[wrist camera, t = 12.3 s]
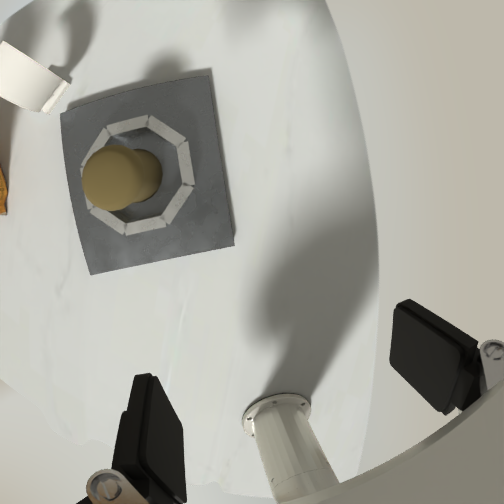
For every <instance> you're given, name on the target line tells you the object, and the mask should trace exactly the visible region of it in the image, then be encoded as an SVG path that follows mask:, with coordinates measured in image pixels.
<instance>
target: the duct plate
mask: <svg viewBox="0 0 504 504" xmlns="http://www.w3.org/2000/svg"><path fill="white" fill-rule="evenodd" d="M60 121H61V134H62V144H63V153H64V161H65V168H66V174H67V181H68V186H69V192H70V197H71V202H72V207H73V212H74V216H75V221H76V225H77V229H78V233H79V237H80V241H81V245H82V248H83V252H84V256H85V259H86V262H87V266H88V269H89V272H90V275H94V274H99V273H104V272H108V271H113V270H118V269H123V268H128V267H132V266H137V265H142V264H147V263H152V262H157V261H161V260H166V259H171V258H176V257H181V256H186V255H191V254H196V253H201V252H206V251H211V250H216V249H221V248H226V247H231V246H235V244H234V238H233V232H232V226H231V220H230V214H229V208H228V202H227V196H226V189H225V183H224V177H223V171H222V164H221V158H220V151H219V145H218V138H217V131H216V125H215V118H214V111H213V104H212V97H211V90H210V83H209V76H200V77H194V78H187V79H181V80H176V81H170V82H165V83H160V84H156V85H151V86H147V87H143V88H138V89H134V90H131V91H127V92H123V93H120V94H116V95H113V96H109V97H106V98H103V99H100V100H97V101H94V102H91V103H88V104H85V105H82V106H79V107H76V108H74V109H71V110H69V111H66V112H63V113H61V114H60ZM112 144H114V145H123V146H125V147H127V148H129V149H131V150H133V149H145V150H147V151H149V152H151V153H153V154H154V155H155V156H156V157H157V158H158V160H159V162H160V164H161V166H162V173H163V176H162V182H161V185H160V187H159V189H158V191H157V192H156V193H155V194H154V195H153V196H152V197H151V198H149V199H148V200H146V201H144V202H139V203H131V204H130V205H128V206H126V207H125V208H123V209H120V210H115V211H108V210H102V209H100V208H98V207H96V206H94V205H93V204H92V203H91V202H90V201H89V200H88V199H87V197H86V195H85V193H84V191H83V187H82V172H83V168H84V166H85V164H86V162H87V160H88V159H89V158H90V156H91V155H92V154H93V153H94V152H96V151H97V150H99V149H101V148H102V147H104V146H108V145H112Z"/></svg>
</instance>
